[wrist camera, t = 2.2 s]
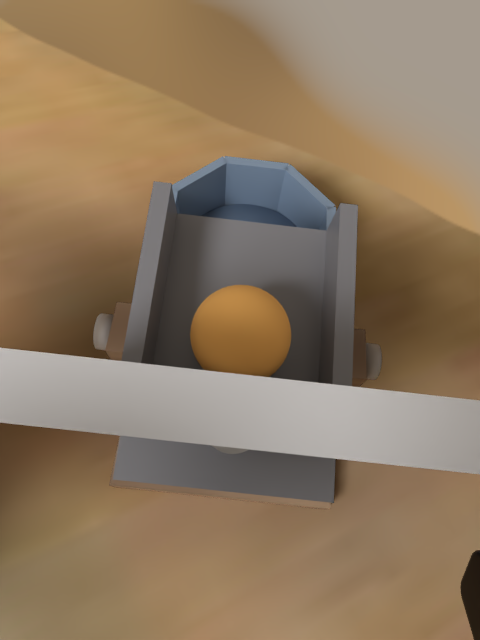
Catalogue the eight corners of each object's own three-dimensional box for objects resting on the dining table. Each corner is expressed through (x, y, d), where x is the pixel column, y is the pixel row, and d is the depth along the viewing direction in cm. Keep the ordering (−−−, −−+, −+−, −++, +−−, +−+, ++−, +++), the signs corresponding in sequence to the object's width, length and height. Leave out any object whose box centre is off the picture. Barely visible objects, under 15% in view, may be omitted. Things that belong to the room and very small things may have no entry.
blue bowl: (318, 341, 24) (336, 311, 21) (156, 323, 24) (147, 290, 20) (320, 212, 28) (336, 169, 24) (181, 196, 28) (176, 150, 24)
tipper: (382, 504, 15) (580, 579, 7) (62, 470, 15) (-135, 504, 7) (385, 247, 18) (530, 76, 9) (114, 216, 17) (20, 15, 9)
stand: (333, 510, 20) (388, 505, 14) (105, 486, 20) (56, 470, 14) (334, 352, 24) (378, 290, 17) (138, 330, 24) (111, 260, 17)
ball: (301, 344, 15) (317, 367, 12) (222, 385, 16) (218, 418, 13) (258, 265, 15) (263, 267, 12) (179, 308, 15) (163, 322, 12)
